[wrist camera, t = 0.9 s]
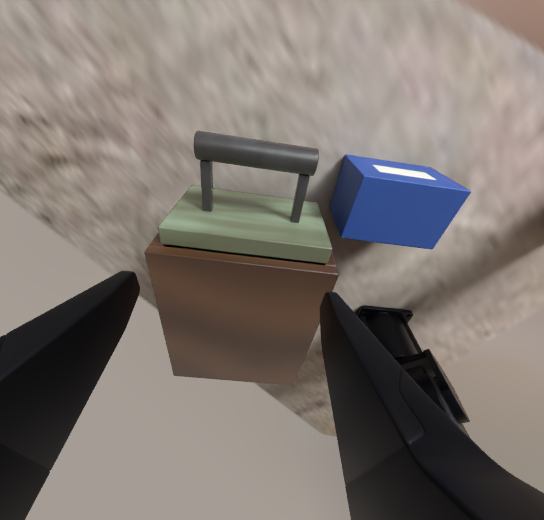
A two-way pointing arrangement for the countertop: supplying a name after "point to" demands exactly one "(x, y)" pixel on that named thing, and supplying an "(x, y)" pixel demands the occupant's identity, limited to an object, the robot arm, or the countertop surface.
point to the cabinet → (237, 312)
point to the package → (394, 202)
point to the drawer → (249, 206)
